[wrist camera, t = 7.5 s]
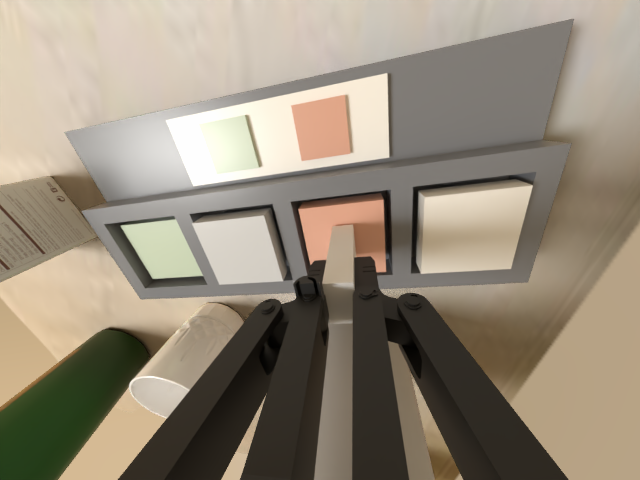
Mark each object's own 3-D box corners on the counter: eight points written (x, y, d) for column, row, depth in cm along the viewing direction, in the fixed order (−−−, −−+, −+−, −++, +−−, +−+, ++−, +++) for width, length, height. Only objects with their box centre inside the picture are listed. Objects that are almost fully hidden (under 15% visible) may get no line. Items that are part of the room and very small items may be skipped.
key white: (498, 256, 17) (510, 268, 16) (415, 262, 19) (421, 273, 17) (515, 179, 15) (533, 185, 13) (418, 190, 16) (424, 197, 14)
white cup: (220, 289, 28) (159, 368, 19) (261, 330, 30) (224, 415, 22) (181, 311, 31) (113, 388, 22) (222, 346, 33) (175, 427, 25)
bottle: (77, 324, 35) (-554, 797, 11) (132, 319, 33) (-514, 908, 8) (119, 367, 40) (-253, 767, 15) (170, 365, 37) (-174, 832, 13)
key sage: (213, 266, 24) (204, 275, 22) (164, 269, 25) (152, 279, 23) (189, 212, 21) (177, 219, 19) (135, 219, 22) (120, 225, 21)
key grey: (287, 270, 21) (283, 281, 19) (228, 273, 22) (219, 284, 20) (270, 207, 18) (263, 215, 16) (203, 215, 19) (191, 223, 18)
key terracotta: (383, 260, 19) (386, 271, 18) (315, 265, 21) (312, 276, 19) (380, 192, 17) (383, 199, 15) (302, 202, 18) (298, 209, 16)
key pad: (493, 270, 22) (522, 302, 18) (176, 287, 29) (149, 313, 25) (546, 31, 14) (620, -3, 10) (88, 131, 21) (27, 133, 17)
